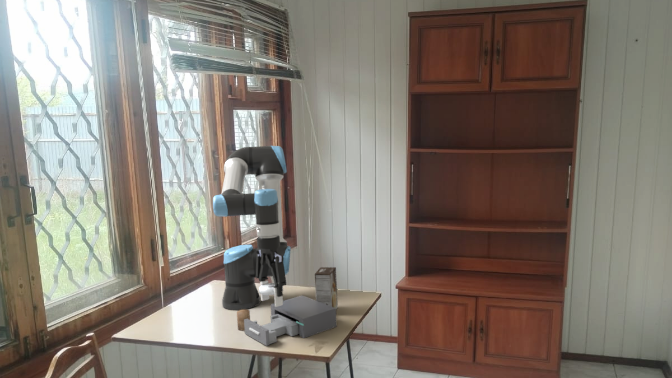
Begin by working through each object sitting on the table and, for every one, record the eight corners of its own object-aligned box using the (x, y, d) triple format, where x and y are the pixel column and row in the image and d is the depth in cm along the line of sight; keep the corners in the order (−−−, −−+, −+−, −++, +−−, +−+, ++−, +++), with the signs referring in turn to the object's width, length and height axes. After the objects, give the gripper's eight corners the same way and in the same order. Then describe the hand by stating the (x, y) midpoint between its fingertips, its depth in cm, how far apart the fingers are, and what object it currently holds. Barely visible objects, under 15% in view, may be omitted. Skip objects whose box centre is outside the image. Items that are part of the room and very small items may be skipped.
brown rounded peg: (235, 328, 174) (234, 311, 173) (246, 324, 176) (245, 308, 176) (241, 331, 170) (240, 314, 170) (252, 328, 173) (251, 311, 172)
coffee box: (321, 307, 192) (320, 266, 190) (338, 307, 190) (336, 267, 189) (316, 315, 183) (314, 273, 181) (333, 316, 181) (331, 273, 180)
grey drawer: (243, 333, 168) (242, 319, 167) (277, 322, 176) (276, 309, 176) (265, 346, 157) (264, 331, 156) (300, 334, 165) (299, 320, 165)
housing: (271, 322, 178) (270, 304, 177) (303, 312, 187) (302, 295, 186) (303, 338, 162) (302, 319, 162) (336, 326, 171) (336, 308, 171)
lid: (274, 286, 171) (274, 281, 171) (287, 291, 165) (287, 286, 164) (254, 291, 166) (254, 286, 165) (267, 296, 159) (266, 291, 159)
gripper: (242, 233, 169) (246, 298, 171) (275, 241, 153) (279, 313, 155) (261, 230, 174) (265, 293, 176) (295, 238, 158) (298, 307, 160)
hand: (271, 302), depth 165 cm, fingers closed on lid, 8 cm apart
